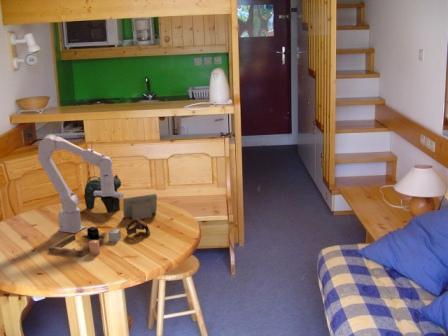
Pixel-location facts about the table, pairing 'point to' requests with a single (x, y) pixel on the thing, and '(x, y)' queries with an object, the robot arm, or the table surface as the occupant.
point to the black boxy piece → (92, 234)
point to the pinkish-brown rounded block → (94, 247)
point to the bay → (57, 249)
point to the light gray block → (114, 235)
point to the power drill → (96, 186)
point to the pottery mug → (137, 226)
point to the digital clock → (140, 206)
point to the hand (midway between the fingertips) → (110, 211)
